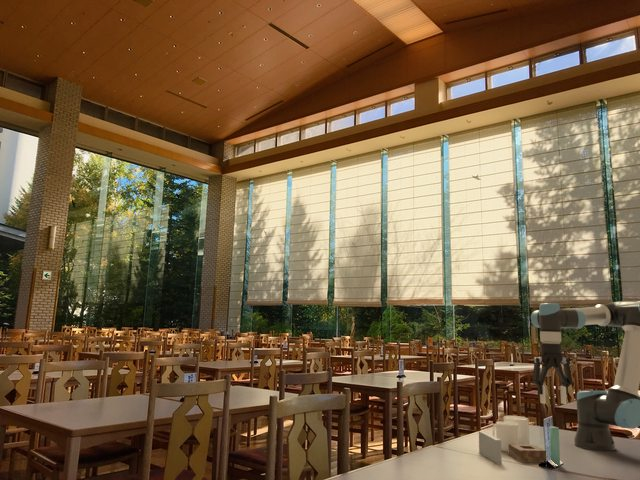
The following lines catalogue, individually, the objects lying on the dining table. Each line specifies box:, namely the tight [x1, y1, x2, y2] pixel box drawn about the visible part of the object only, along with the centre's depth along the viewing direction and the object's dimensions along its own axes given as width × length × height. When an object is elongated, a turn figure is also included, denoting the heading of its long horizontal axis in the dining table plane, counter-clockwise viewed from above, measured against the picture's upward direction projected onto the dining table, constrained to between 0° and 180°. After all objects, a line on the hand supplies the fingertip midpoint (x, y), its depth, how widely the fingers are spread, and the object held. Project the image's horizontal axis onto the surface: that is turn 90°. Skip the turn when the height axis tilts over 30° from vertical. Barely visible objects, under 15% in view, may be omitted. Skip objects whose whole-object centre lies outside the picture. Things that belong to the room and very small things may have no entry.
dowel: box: [549, 426, 561, 467], centre depth 184 cm, size 3×3×13 cm
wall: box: [478, 430, 503, 465], centre depth 191 cm, size 2×16×8 cm, turn 4°
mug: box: [503, 415, 531, 445], centre depth 219 cm, size 14×10×11 cm
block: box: [508, 444, 547, 463], centre depth 192 cm, size 10×10×4 cm
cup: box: [492, 420, 518, 453], centre depth 208 cm, size 8×12×10 cm
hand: (553, 403), depth 196 cm, fingers open, 8 cm apart
